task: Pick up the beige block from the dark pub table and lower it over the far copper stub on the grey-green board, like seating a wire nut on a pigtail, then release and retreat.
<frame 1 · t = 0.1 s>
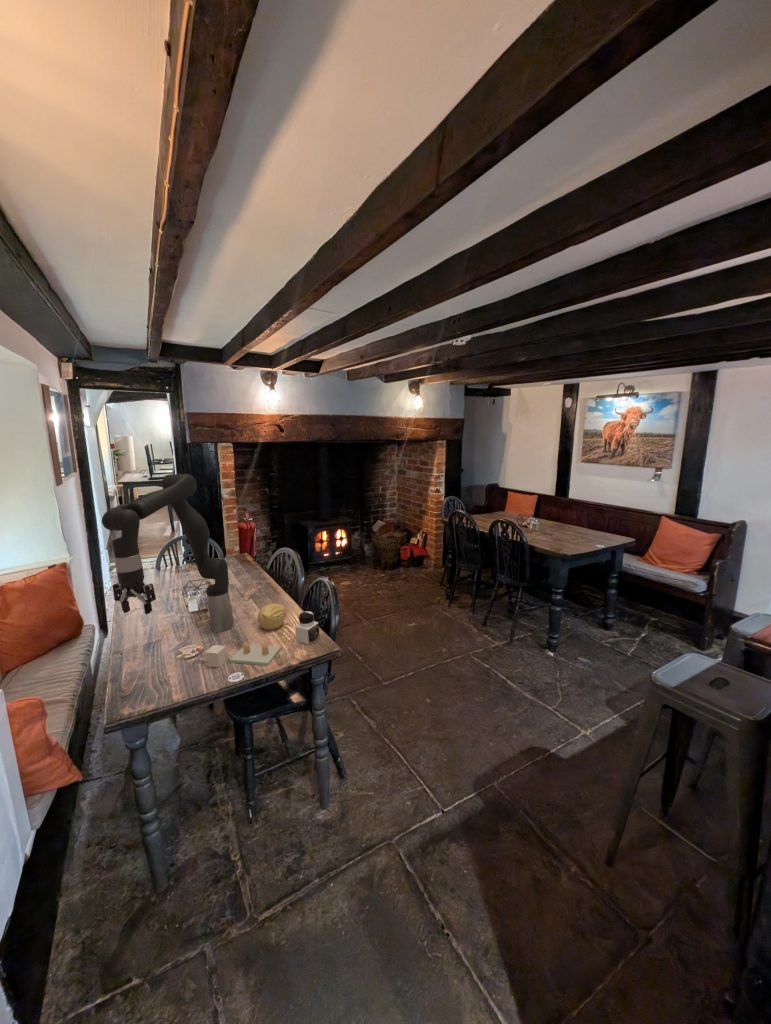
hand: (137, 612, 142), 29 cm above the table, fingers open, 8 cm apart
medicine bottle: (308, 639, 178), on the table
beige block: (217, 663, 163), on the table
board: (256, 655, 167), on the table
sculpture: (272, 626, 191), on the table
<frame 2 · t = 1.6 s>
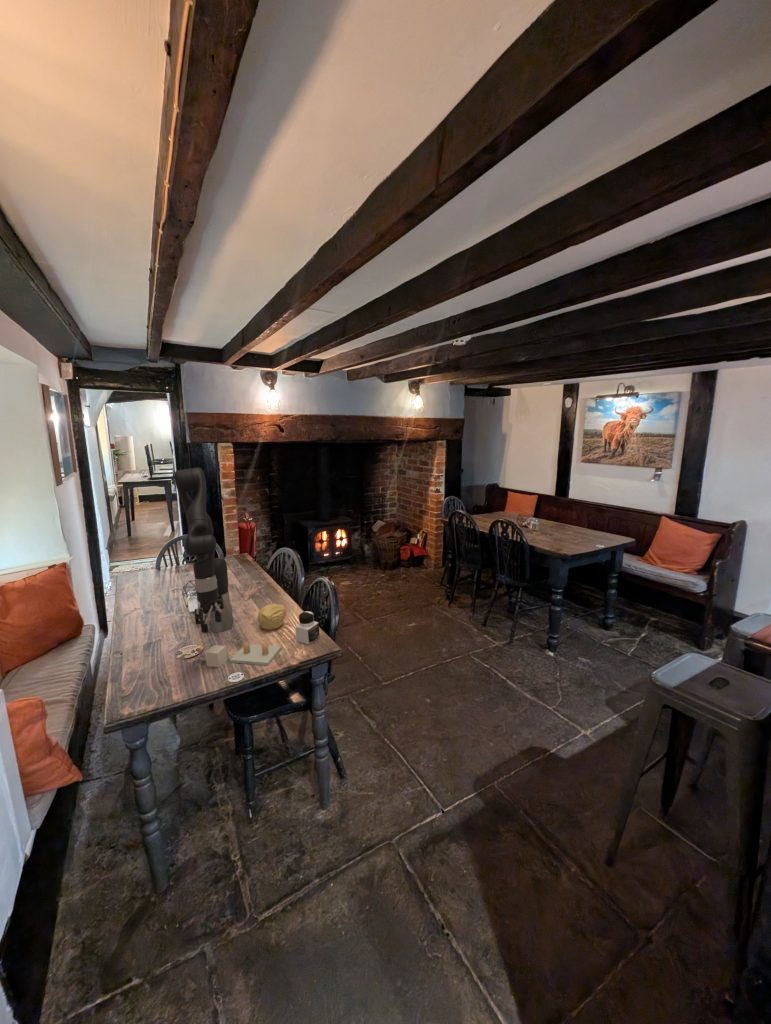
hand: (212, 627, 159), 15 cm above the table, fingers open, 8 cm apart
nothing on the table moved.
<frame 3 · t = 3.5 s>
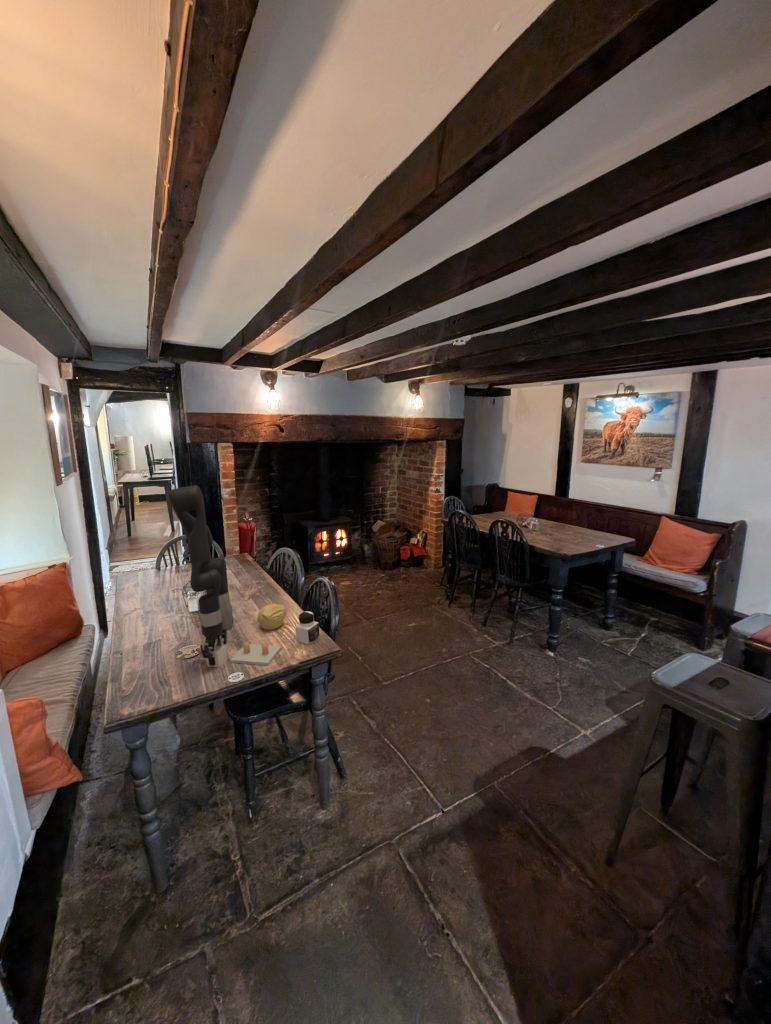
hand: (217, 660, 162), 1 cm above the table, fingers closed on beige block, 5 cm apart
beige block: (217, 663, 163), on the table, touching gripper
everything else where it was.
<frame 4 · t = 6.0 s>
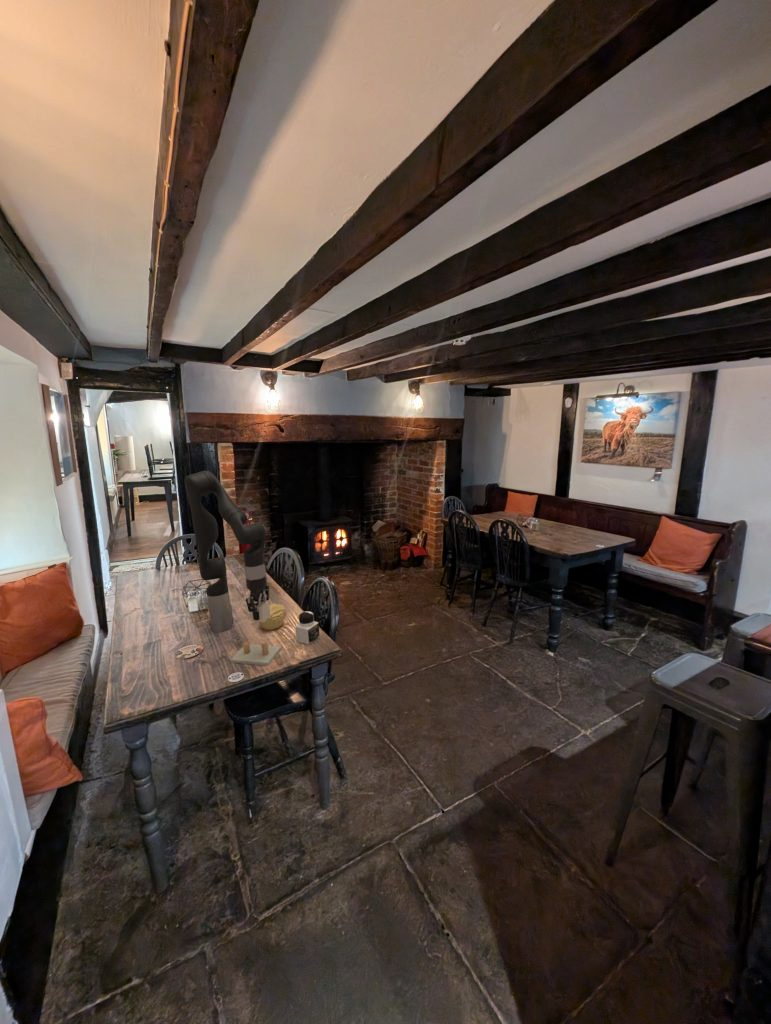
hand: (260, 616, 162), 18 cm above the table, fingers closed on beige block, 5 cm apart
beige block: (260, 618, 162), point 17 cm above the table, touching gripper
everything else where it was.
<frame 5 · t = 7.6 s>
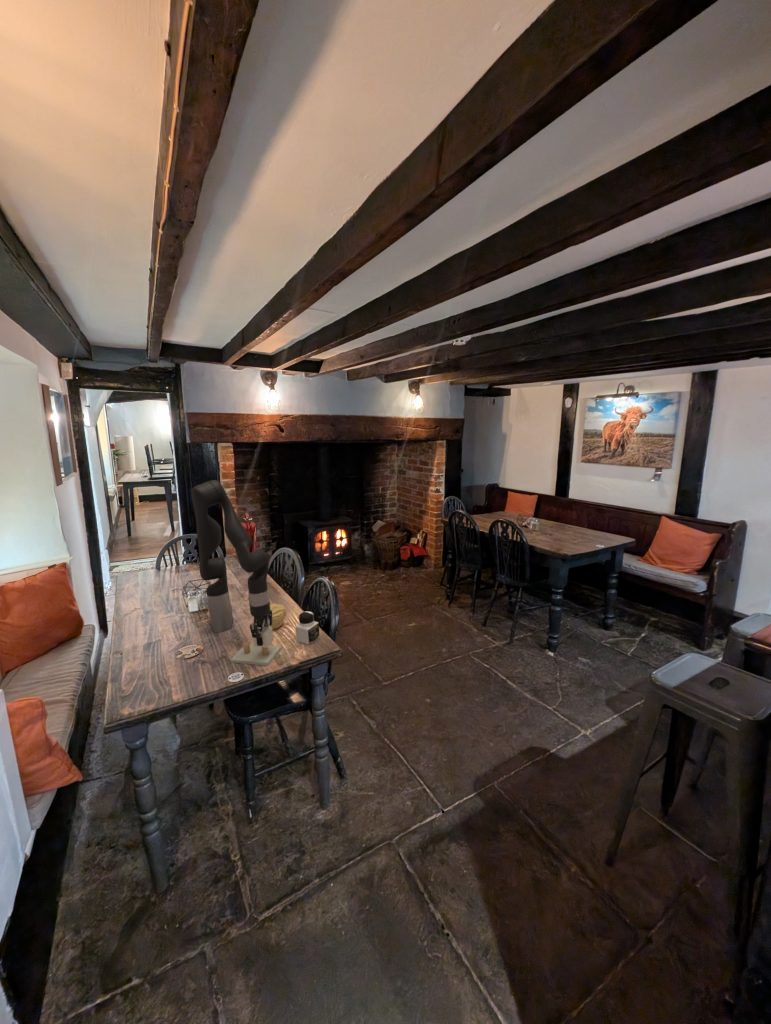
hand: (263, 641, 164), 7 cm above the table, fingers closed on beige block, 5 cm apart
beige block: (264, 643, 165), point 6 cm above the table, touching gripper
everything else where it was.
when the fingers open (3 cm above the table, at t = 8.8 s): beige block stays where it is, resting on board.
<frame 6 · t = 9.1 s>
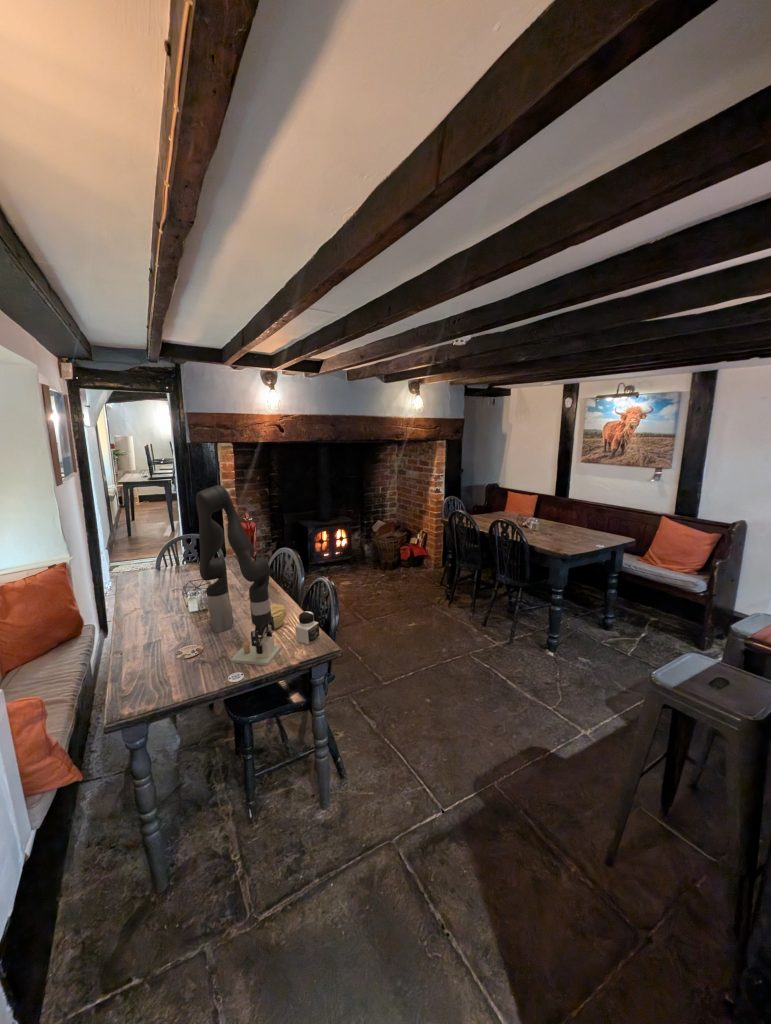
hand: (264, 647, 165), 4 cm above the table, fingers open, 8 cm apart
beige block: (265, 653, 166), point 1 cm above the table, touching board
everything else where it was.
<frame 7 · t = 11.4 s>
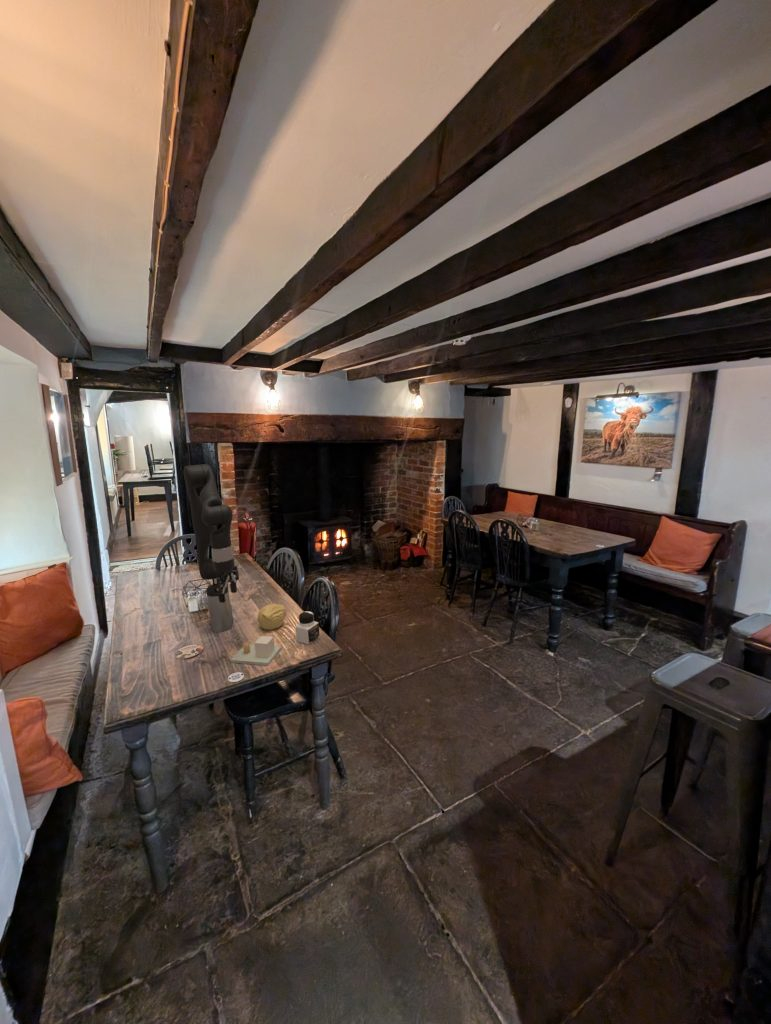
hand: (228, 597, 161), 26 cm above the table, fingers open, 8 cm apart
nothing on the table moved.
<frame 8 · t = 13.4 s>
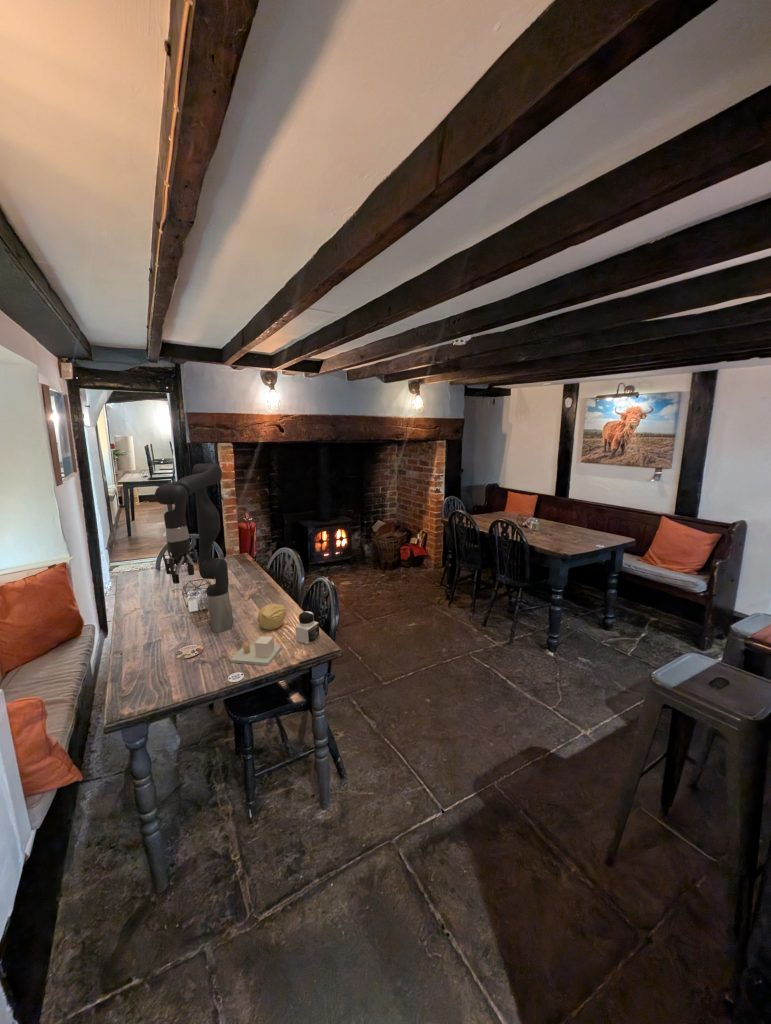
hand: (184, 579, 158), 34 cm above the table, fingers open, 8 cm apart
nothing on the table moved.
at the end: beige block 0.0 cm from the target spot on the board, point 1.2 cm above the board's base; beige block tilted 0°; the gripper is holding nothing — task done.
